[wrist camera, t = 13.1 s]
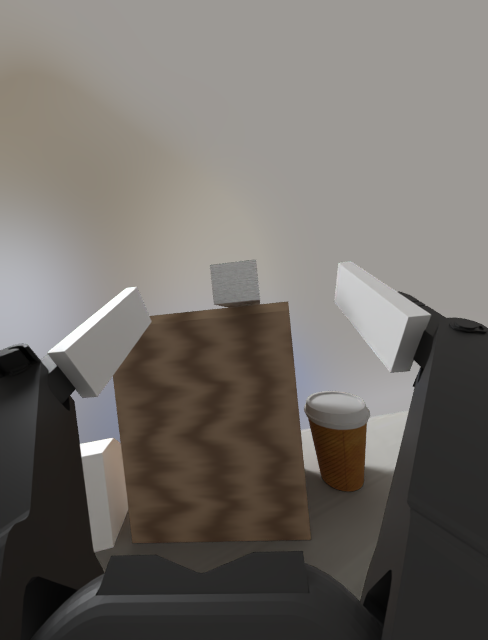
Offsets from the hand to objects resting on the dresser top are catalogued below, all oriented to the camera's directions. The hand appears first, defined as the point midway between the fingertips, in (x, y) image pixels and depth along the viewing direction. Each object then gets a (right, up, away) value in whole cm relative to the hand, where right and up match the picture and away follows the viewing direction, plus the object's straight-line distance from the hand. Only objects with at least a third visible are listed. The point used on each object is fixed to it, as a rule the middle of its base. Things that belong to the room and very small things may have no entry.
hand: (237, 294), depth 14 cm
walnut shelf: (-2, -28, +17) cm, 33 cm away
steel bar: (+1, 0, +13) cm, 13 cm away
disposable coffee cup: (+16, -27, +20) cm, 37 cm away
